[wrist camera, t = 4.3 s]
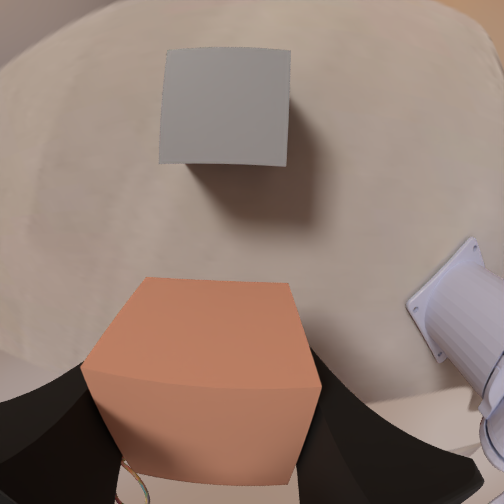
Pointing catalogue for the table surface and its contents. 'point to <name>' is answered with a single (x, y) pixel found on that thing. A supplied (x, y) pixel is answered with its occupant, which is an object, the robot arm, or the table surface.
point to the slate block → (225, 106)
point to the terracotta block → (206, 381)
